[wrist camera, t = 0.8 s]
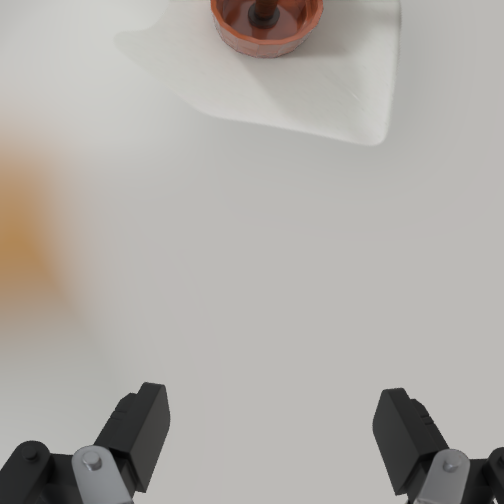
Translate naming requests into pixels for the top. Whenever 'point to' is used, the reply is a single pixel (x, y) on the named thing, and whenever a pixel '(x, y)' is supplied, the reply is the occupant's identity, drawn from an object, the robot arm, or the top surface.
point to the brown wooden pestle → (264, 13)
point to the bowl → (266, 40)
